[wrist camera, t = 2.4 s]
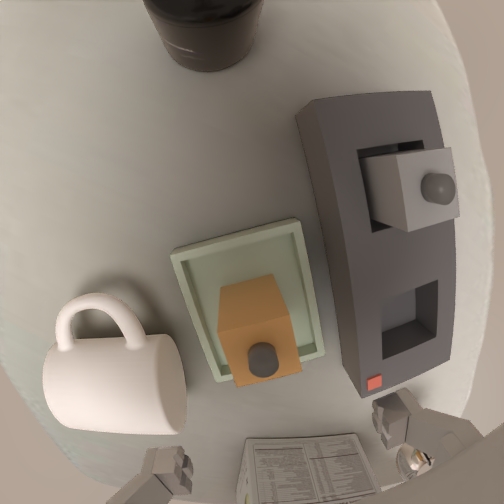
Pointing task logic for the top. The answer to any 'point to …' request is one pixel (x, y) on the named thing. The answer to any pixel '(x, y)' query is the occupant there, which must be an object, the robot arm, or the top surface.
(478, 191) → the top surface
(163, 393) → the mug
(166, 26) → the supplement bottle
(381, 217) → the gray knobbed block
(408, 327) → the strip
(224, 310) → the plug
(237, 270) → the tray
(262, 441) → the supplement box
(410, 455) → the wineglass
